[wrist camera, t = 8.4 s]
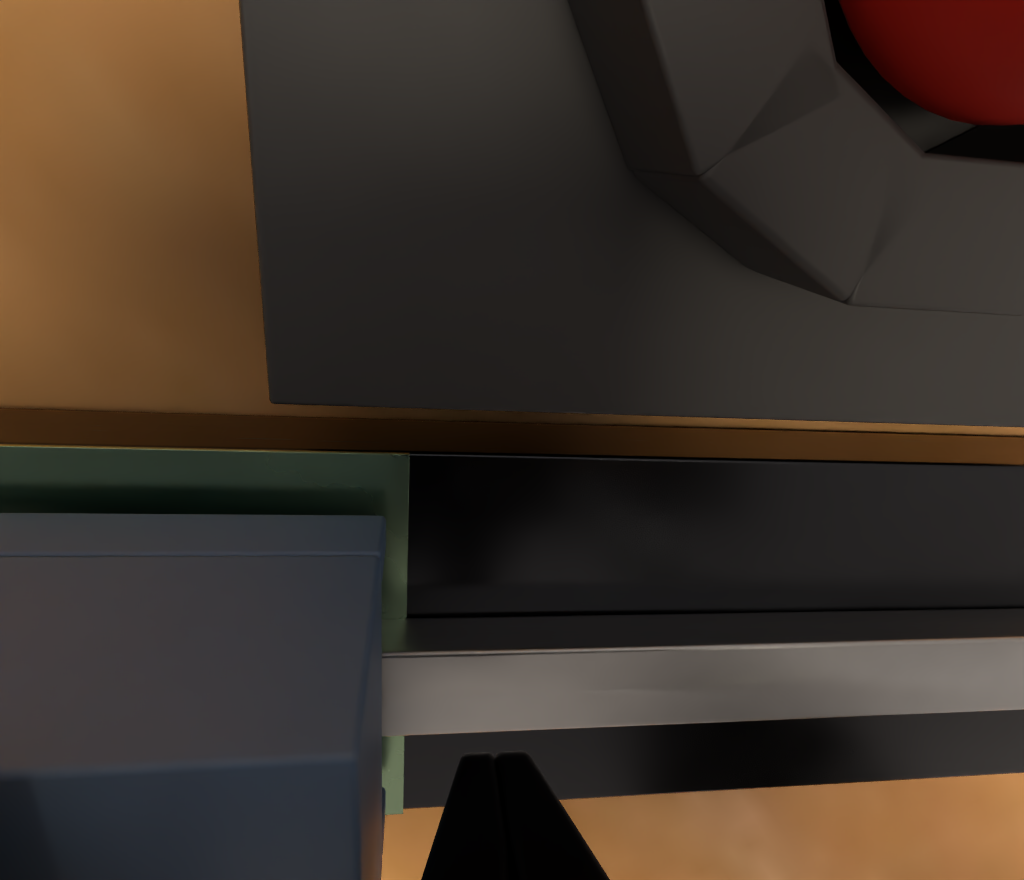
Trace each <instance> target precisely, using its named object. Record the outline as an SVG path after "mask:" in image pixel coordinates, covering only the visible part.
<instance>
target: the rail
mask: <svg viewBox="0 0 1024 880" xmlns="http://www.w3.org/2000/svg"><path fill="white" fill-rule="evenodd" d="M0 513H85V514H226V515H367V516H384V517H385V519H386V549H385V559H384V568H383V578H382V582H381V601H382V787H384V788H385V791H386V808H385V815H391V814H403V809H413V808H430V807H445V805H446V801H447V798H448V795H449V792H450V789H451V786H452V783H453V780H454V777H455V774H456V770H457V767H458V764H459V761H460V759H461V757H462V756H463V755H464V754H466V753H483V752H489V753H492V754H493V756H494V758H495V756H496V754H497V753H498V752H505V751H525V752H527V753H528V754H529V755H530V756H531V757H532V759H533V760H534V762H535V763H536V765H537V767H538V768H539V770H540V771H541V773H542V774H543V776H544V778H545V779H546V781H547V782H548V784H549V785H550V787H551V789H552V790H553V792H554V793H555V795H556V796H557V798H558V799H559V800H566V799H583V798H600V797H617V796H634V795H651V794H668V793H685V792H702V791H720V790H737V789H754V788H771V787H788V786H805V785H822V784H839V783H856V782H873V781H890V780H907V779H924V778H941V777H958V776H975V775H992V774H1009V773H1024V437H989V436H954V435H919V434H884V433H849V432H814V431H779V430H744V429H709V428H674V427H639V426H604V425H569V424H534V423H499V422H464V421H429V420H394V419H359V418H324V417H289V416H254V415H220V414H185V413H150V412H115V411H80V410H45V409H10V408H0Z"/></svg>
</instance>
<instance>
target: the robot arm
mask: <svg viewBox="0 0 1024 880" xmlns="http://www.w3.org/2000/svg"><path fill="white" fill-rule="evenodd" d="M421 880H610V879H609V878H608V876H607V875H606V873H605V871H604V870H603V868H602V867H601V865H600V864H599V862H598V860H597V859H596V857H595V856H594V854H593V853H592V851H591V850H590V848H589V846H588V845H587V843H586V842H585V840H584V839H583V837H582V835H581V834H580V832H579V831H578V829H577V828H576V826H575V825H574V823H573V821H572V820H571V818H570V817H569V815H568V814H567V812H566V810H565V809H564V807H563V806H562V804H561V803H560V801H559V799H558V798H557V796H556V795H555V793H554V792H553V790H552V789H551V787H550V785H549V784H548V782H547V781H546V779H545V778H544V776H543V774H542V773H541V771H540V770H539V768H538V767H537V765H536V763H535V762H534V760H533V759H532V757H531V756H530V755H529V754H528V753H527V752H525V751H505V752H498V753H497V754H496V756H495V758H494V756H493V754H492V753H489V752H483V753H466V754H464V755H463V756H462V757H461V759H460V761H459V764H458V767H457V770H456V774H455V777H454V780H453V783H452V786H451V789H450V792H449V795H448V798H447V801H446V805H445V808H444V811H443V814H442V817H441V820H440V823H439V826H438V829H437V832H436V836H435V839H434V842H433V845H432V848H431V851H430V854H429V857H428V860H427V863H426V867H425V870H424V873H423V876H422V879H421Z"/></svg>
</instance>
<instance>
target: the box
mask: <svg viewBox="0 0 1024 880" xmlns="http://www.w3.org/2000/svg"><path fill="white" fill-rule="evenodd" d="M239 10H240V23H241V36H242V49H243V62H244V75H245V88H246V101H247V114H248V127H249V140H250V153H251V166H252V179H253V191H254V204H255V217H256V230H257V243H258V256H259V269H260V282H261V295H262V308H263V321H264V334H265V347H266V360H267V373H268V386H269V399H270V401H271V403H273V404H294V405H326V406H358V407H390V408H422V409H454V410H486V411H518V412H550V413H582V414H614V415H646V416H679V417H711V418H743V419H775V420H807V421H839V422H871V423H903V424H935V425H967V426H999V427H1024V125H1005V126H997V125H974V124H969V123H964V122H959V121H953V120H950V119H947V118H944V117H942V116H939V115H937V114H934V113H932V112H929V111H927V110H925V109H923V108H922V107H920V106H919V105H917V104H915V103H914V102H912V101H910V100H909V99H907V98H906V97H904V96H903V95H902V94H901V93H900V92H898V91H897V90H896V89H895V88H894V87H893V86H892V85H891V84H889V83H888V82H887V81H886V80H885V79H884V78H883V77H882V76H881V75H880V74H879V73H878V71H877V70H876V69H875V68H874V66H873V65H872V64H871V62H870V61H869V60H868V59H867V57H866V56H865V55H864V53H863V52H862V50H861V48H860V46H859V45H858V43H857V41H856V39H855V38H854V36H853V34H852V32H851V31H850V29H849V26H848V24H847V21H846V19H845V16H844V14H843V11H842V9H841V6H840V4H839V1H838V0H239Z"/></svg>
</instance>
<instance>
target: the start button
mask: <svg viewBox="0 0 1024 880" xmlns="http://www.w3.org/2000/svg"><path fill="white" fill-rule="evenodd" d="M838 1H839V4H840V6H841V9H842V11H843V14H844V16H845V19H846V21H847V24H848V26H849V29H850V31H851V32H852V34H853V36H854V38H855V39H856V41H857V43H858V45H859V46H860V48H861V50H862V52H863V53H864V55H865V56H866V57H867V59H868V60H869V61H870V62H871V64H872V65H873V66H874V68H875V69H876V70H877V71H878V73H879V74H880V75H881V76H882V77H883V78H884V79H885V80H886V81H887V82H888V83H889V84H891V85H892V86H893V87H894V88H895V89H896V90H897V91H898V92H900V93H901V94H902V95H903V96H904V97H906V98H907V99H909V100H910V101H912V102H914V103H915V104H917V105H919V106H920V107H922V108H923V109H925V110H927V111H929V112H932V113H934V114H937V115H939V116H942V117H944V118H947V119H950V120H953V121H959V122H964V123H969V124H974V125H997V126H1005V125H1024V0H838Z"/></svg>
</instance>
